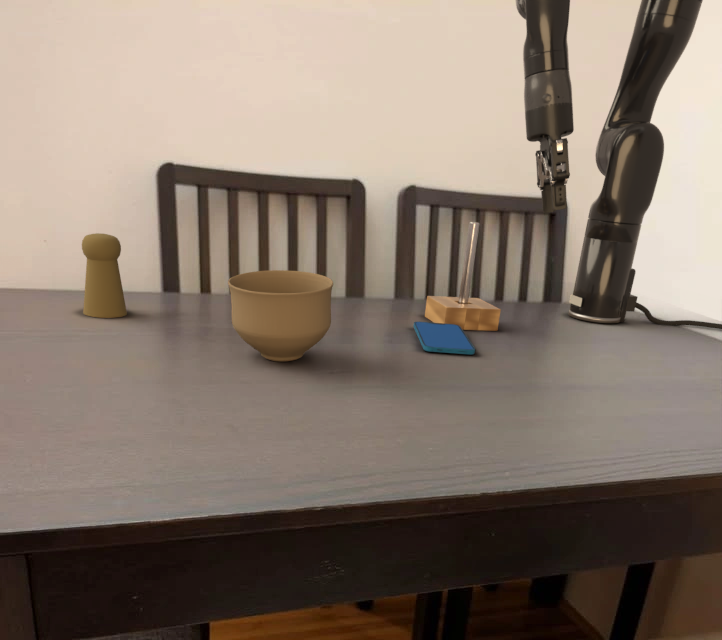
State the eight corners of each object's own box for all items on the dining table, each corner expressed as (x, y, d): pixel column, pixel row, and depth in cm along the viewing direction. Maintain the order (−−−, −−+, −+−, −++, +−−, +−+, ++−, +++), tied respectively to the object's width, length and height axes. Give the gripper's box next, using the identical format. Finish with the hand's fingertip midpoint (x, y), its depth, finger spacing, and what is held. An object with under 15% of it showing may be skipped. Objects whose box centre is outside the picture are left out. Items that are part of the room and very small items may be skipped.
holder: (475, 318, 127) (478, 298, 125) (497, 331, 118) (501, 309, 117) (424, 316, 124) (427, 295, 123) (443, 329, 116) (446, 307, 115)
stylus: (462, 322, 122) (477, 222, 116) (466, 324, 121) (481, 223, 114) (454, 322, 122) (467, 221, 115) (457, 324, 120) (471, 222, 114)
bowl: (206, 353, 91) (206, 271, 87) (280, 341, 100) (283, 266, 96) (275, 378, 83) (279, 289, 79) (349, 362, 92) (355, 282, 88)
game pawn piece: (93, 319, 102) (88, 237, 98) (76, 310, 106) (70, 231, 102) (134, 316, 106) (131, 237, 101) (116, 307, 110) (112, 231, 105)
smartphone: (424, 346, 100) (412, 321, 114) (423, 353, 101) (412, 327, 114) (476, 350, 101) (459, 324, 115) (475, 357, 101) (458, 330, 115)
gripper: (582, 93, 111) (587, 205, 116) (562, 110, 125) (567, 210, 130) (532, 101, 112) (539, 212, 117) (518, 117, 125) (524, 216, 130)
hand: (554, 211), depth 123 cm, fingers open, 8 cm apart
